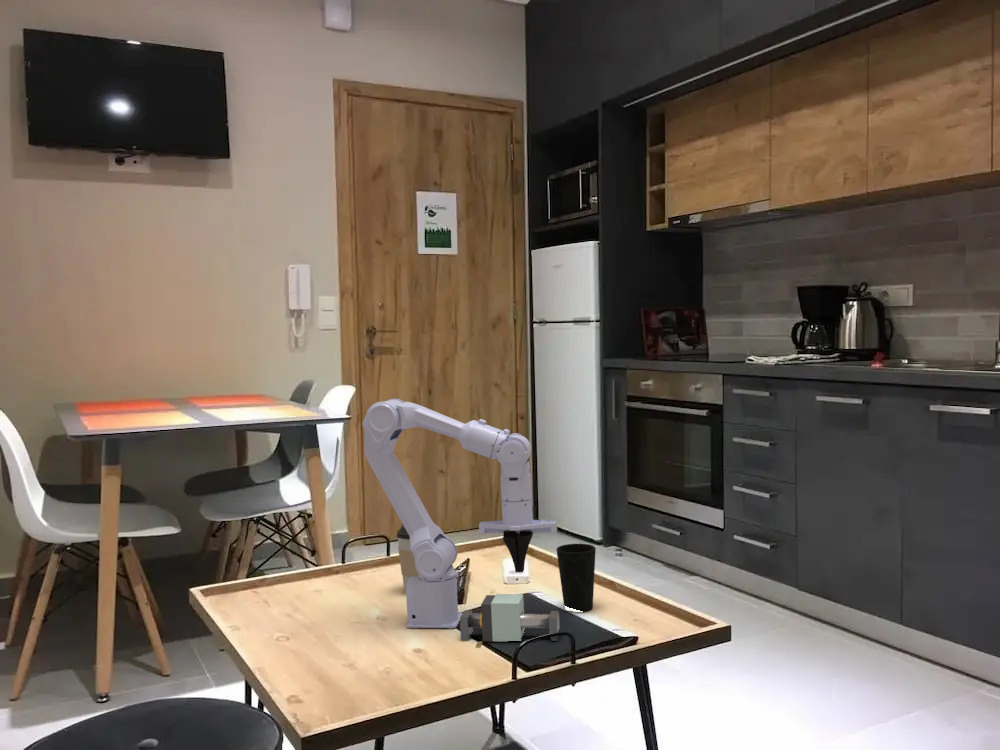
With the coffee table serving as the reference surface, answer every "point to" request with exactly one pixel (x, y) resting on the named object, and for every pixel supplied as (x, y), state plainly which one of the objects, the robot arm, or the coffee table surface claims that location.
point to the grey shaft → (527, 621)
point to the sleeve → (507, 617)
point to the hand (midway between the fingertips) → (519, 570)
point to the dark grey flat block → (487, 618)
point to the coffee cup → (406, 556)
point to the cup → (577, 575)
